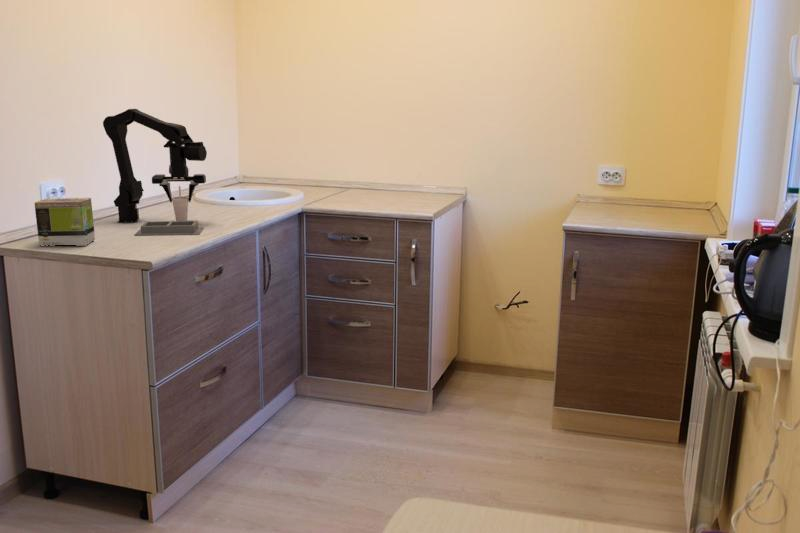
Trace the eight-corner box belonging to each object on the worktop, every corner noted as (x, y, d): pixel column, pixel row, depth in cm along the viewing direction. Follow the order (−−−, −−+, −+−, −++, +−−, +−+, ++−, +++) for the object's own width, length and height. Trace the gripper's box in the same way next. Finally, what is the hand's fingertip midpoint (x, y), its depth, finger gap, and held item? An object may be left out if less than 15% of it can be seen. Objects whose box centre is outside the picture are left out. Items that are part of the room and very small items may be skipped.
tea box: (95, 240, 265) (92, 197, 262) (85, 247, 255) (81, 201, 252) (50, 240, 265) (46, 197, 261) (38, 247, 255) (33, 201, 251)
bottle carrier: (134, 235, 273) (133, 227, 272) (141, 228, 286) (141, 220, 285) (199, 234, 276) (198, 226, 275) (203, 227, 288) (203, 219, 287)
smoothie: (172, 225, 290) (170, 187, 287) (172, 222, 296) (170, 185, 293) (190, 224, 292) (188, 187, 289) (190, 221, 298) (188, 184, 295)
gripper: (206, 157, 298) (208, 198, 301) (155, 157, 295) (158, 199, 299) (203, 160, 287) (205, 203, 291) (150, 161, 285) (153, 203, 288)
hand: (180, 202), depth 292 cm, fingers closed on smoothie, 6 cm apart
